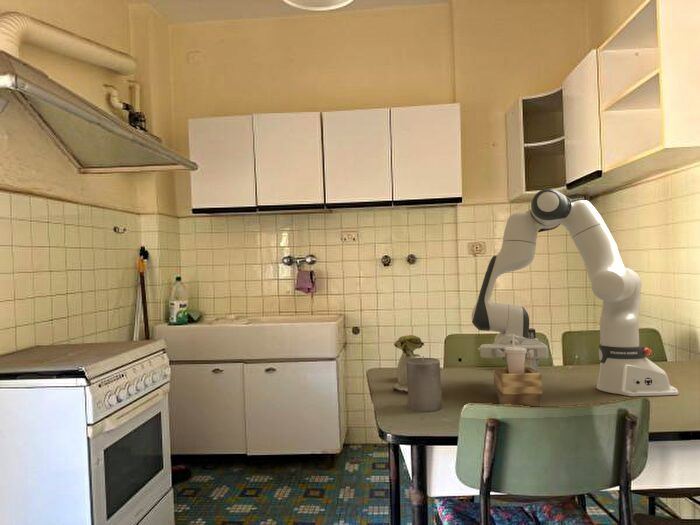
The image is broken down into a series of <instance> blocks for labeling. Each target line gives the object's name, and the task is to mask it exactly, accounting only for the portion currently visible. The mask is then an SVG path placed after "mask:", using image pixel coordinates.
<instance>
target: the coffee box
mask: <svg viewBox="0 0 700 525" xmlns="http://www.w3.org/2000/svg"><path fill="white" fill-rule="evenodd" d="M526 337H528V338H536V337H537V334H536V328H530V327H529V331H528V334H527V336H526ZM525 367H530V368H532V369H533V370H538V359H530V360H525Z"/></svg>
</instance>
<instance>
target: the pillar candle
mask: <svg viewBox="0 0 700 525" xmlns="http://www.w3.org/2000/svg"><path fill="white" fill-rule="evenodd" d="M441 382H442V380H441V361H440V359H438V358H433V357H424V355H423V356H422V357H421V358H413V359H409V360H407V387H408V391H407V406H408V409H409V410H410V411H413V412H419V413H420V412H421V413H424V412H427V413H428V412H436V411H439V410H441V409H442V406H443V402H442V400H443V399H442V383H441Z"/></svg>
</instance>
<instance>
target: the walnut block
mask: <svg viewBox="0 0 700 525" xmlns="http://www.w3.org/2000/svg"><path fill="white" fill-rule="evenodd" d="M496 398H497V400H498V402H499V405H500V404H511V405H523V406H541V402H542V401H541V394H503V393H501V392H500V391H499V390H498V389H497V388H496Z"/></svg>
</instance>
